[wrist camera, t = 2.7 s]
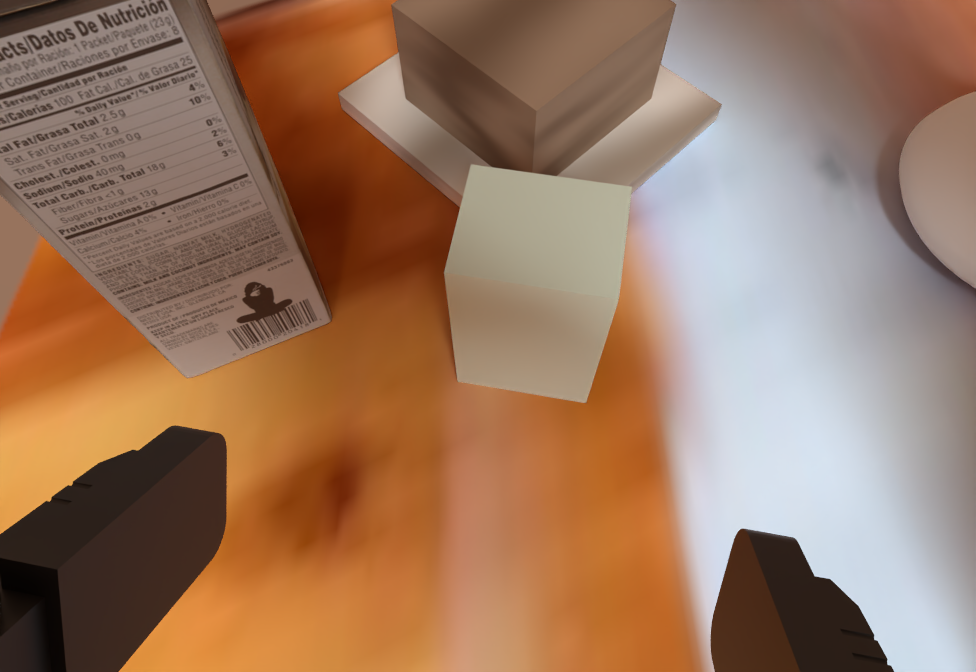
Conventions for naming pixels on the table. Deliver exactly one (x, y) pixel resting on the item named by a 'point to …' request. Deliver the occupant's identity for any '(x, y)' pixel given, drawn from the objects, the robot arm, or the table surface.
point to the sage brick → (534, 280)
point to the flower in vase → (944, 184)
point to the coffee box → (153, 174)
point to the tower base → (530, 90)
